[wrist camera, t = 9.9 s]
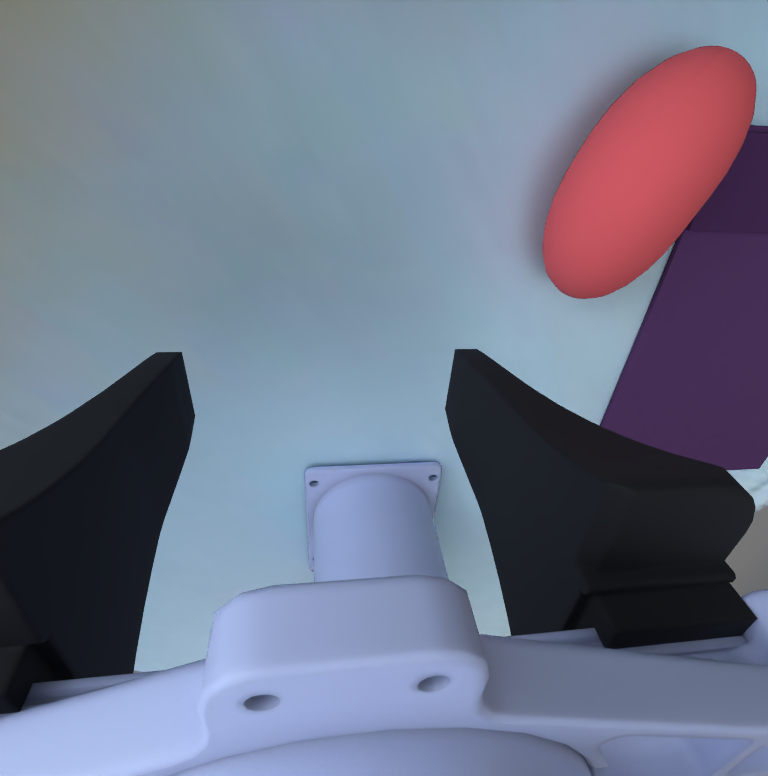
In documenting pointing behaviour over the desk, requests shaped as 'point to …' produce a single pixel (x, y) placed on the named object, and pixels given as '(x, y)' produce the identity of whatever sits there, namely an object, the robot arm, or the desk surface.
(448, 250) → the desk surface
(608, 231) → the red oval piece
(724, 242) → the cloth
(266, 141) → the desk surface
